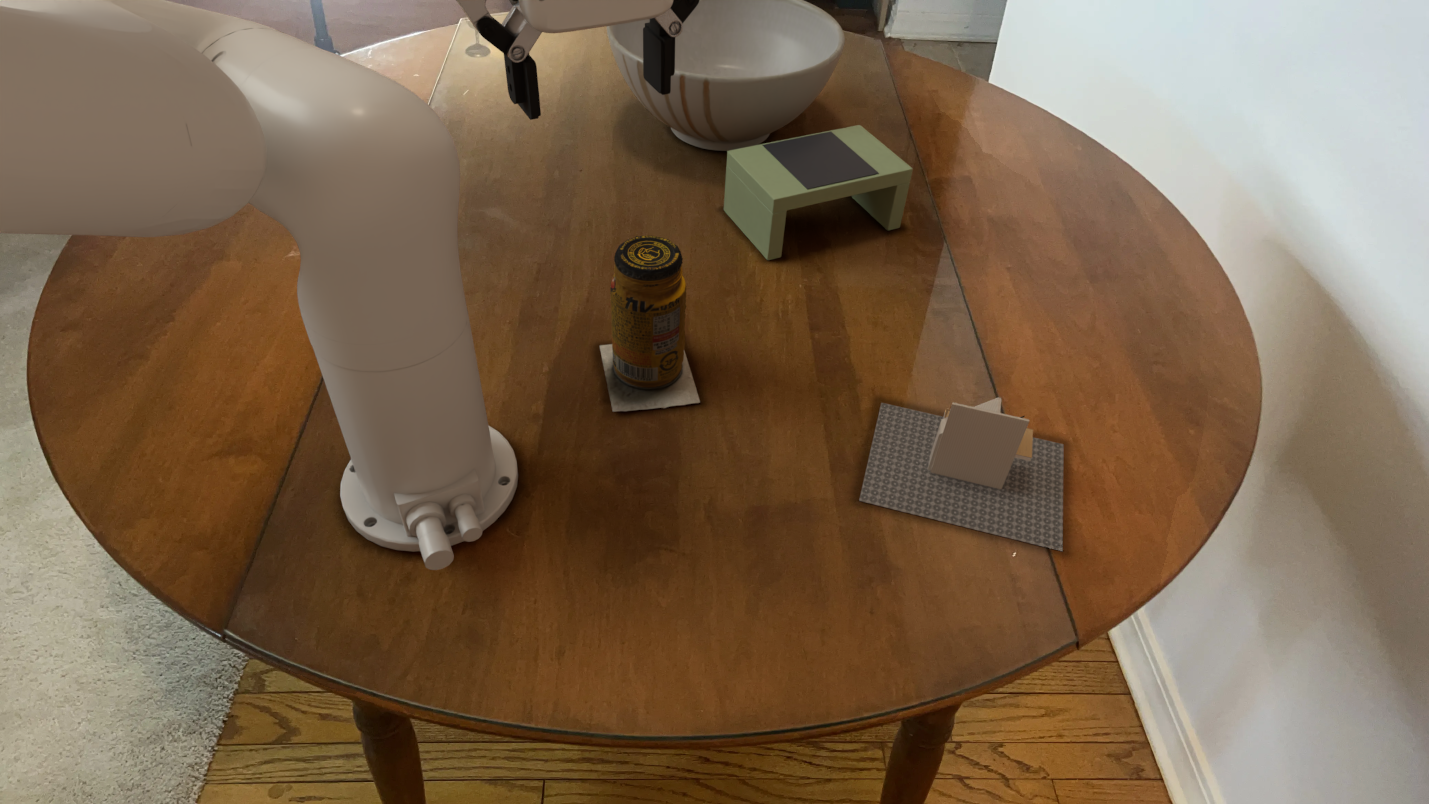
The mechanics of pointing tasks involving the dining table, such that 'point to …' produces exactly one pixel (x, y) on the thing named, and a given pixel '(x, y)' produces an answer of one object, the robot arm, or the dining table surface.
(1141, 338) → the dining table surface
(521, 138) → the dining table surface
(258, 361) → the dining table surface
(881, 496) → the architectural model
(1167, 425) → the dining table surface
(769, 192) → the shelf
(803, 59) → the decorative bowl
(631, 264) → the condiment
